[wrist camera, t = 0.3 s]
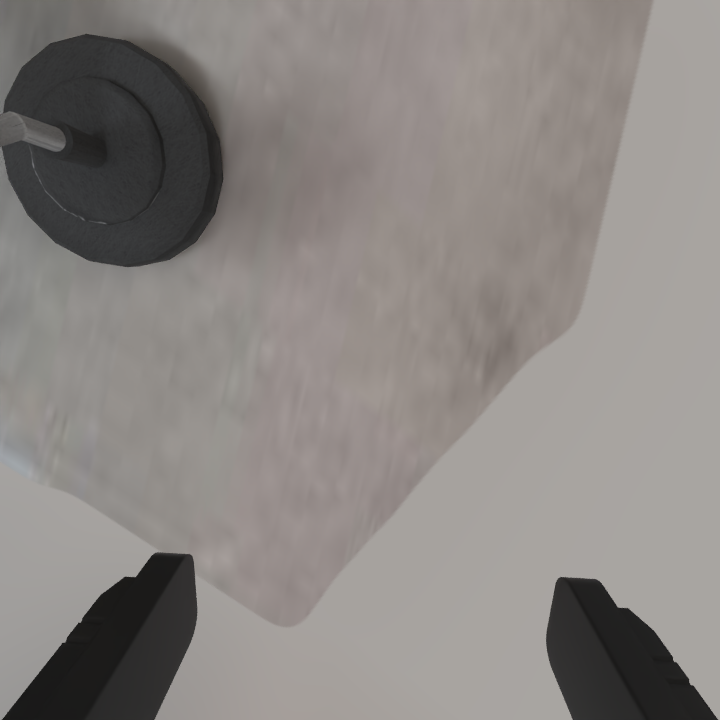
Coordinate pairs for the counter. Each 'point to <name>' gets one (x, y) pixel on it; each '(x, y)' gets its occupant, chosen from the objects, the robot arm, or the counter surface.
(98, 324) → the counter surface
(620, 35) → the counter surface
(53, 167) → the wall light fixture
